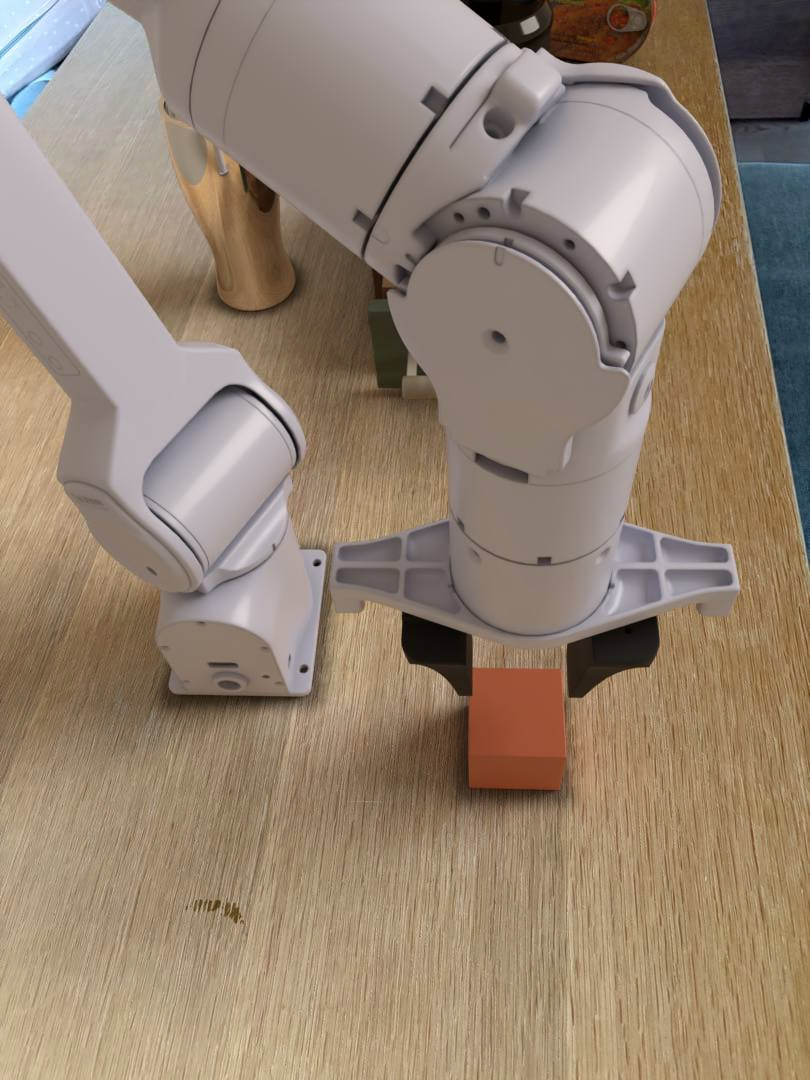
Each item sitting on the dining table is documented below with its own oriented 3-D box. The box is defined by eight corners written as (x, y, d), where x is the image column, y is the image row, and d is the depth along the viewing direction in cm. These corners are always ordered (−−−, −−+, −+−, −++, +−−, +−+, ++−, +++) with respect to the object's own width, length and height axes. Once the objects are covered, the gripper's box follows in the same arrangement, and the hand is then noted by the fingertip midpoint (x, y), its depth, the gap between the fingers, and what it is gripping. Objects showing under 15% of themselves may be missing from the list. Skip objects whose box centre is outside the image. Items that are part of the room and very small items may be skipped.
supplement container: (516, 70, 84) (521, -73, 74) (567, 125, 78) (581, -22, 68) (413, 99, 82) (404, -44, 72) (458, 158, 76) (455, 11, 67)
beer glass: (287, 319, 66) (244, 130, 54) (200, 311, 67) (138, 124, 55) (311, 259, 70) (276, 70, 58) (228, 253, 71) (176, 66, 59)
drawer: (549, 440, 57) (557, 363, 51) (373, 441, 58) (362, 366, 52) (539, 257, 67) (544, 176, 61) (389, 260, 68) (381, 181, 62)
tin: (492, 46, 87) (494, -49, 80) (504, 31, 88) (507, -64, 81) (642, 73, 82) (658, -26, 75) (652, 56, 84) (668, -42, 77)
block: (559, 790, 45) (567, 757, 41) (469, 788, 45) (468, 755, 42) (555, 706, 48) (562, 668, 44) (469, 704, 48) (468, 666, 44)
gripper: (748, 396, 30) (674, 600, 41) (325, 401, 31) (365, 597, 42) (789, 573, 26) (695, 745, 37) (302, 570, 27) (353, 738, 38)
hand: (519, 676), depth 39 cm, fingers open, 4 cm apart
